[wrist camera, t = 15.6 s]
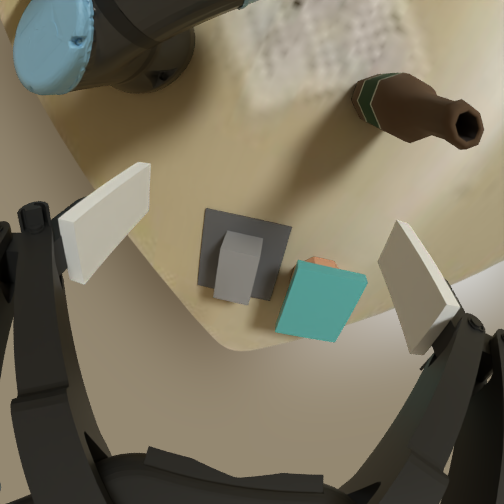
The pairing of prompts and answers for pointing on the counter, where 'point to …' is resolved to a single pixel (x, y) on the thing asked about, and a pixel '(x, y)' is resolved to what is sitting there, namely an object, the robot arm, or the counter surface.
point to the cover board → (319, 301)
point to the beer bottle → (415, 110)
